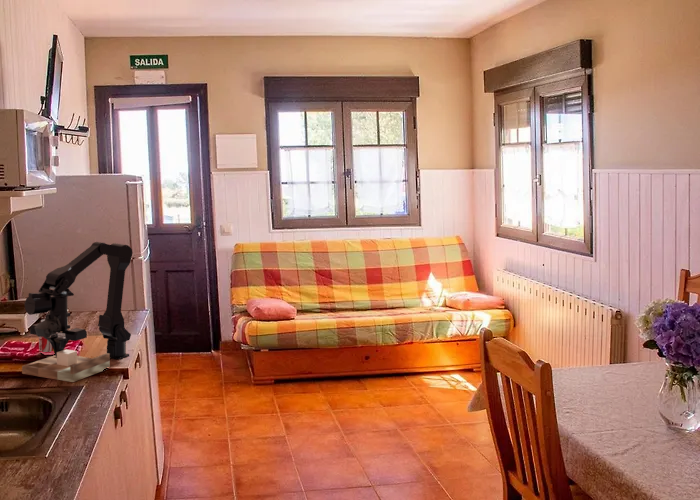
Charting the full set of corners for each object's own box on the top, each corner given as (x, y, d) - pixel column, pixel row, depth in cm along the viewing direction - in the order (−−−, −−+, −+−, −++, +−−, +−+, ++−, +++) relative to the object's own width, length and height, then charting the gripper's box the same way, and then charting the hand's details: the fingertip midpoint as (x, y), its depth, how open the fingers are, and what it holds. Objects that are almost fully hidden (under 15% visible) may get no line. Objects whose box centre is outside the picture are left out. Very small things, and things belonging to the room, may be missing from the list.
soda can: (53, 357, 279) (53, 323, 277) (34, 355, 280) (34, 321, 279) (64, 352, 286) (64, 319, 284) (46, 350, 287) (46, 317, 285)
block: (66, 361, 265) (66, 349, 265) (77, 363, 264) (77, 351, 263) (56, 364, 261) (56, 352, 261) (67, 366, 260) (67, 354, 259)
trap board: (60, 360, 275) (60, 346, 274) (109, 368, 268) (109, 353, 267) (22, 373, 258) (21, 358, 258) (73, 382, 251) (72, 366, 251)
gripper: (17, 311, 258) (17, 359, 260) (64, 318, 251) (64, 367, 253) (42, 305, 268) (42, 351, 270) (88, 312, 261) (87, 359, 263)
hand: (58, 357), depth 264 cm, fingers closed
